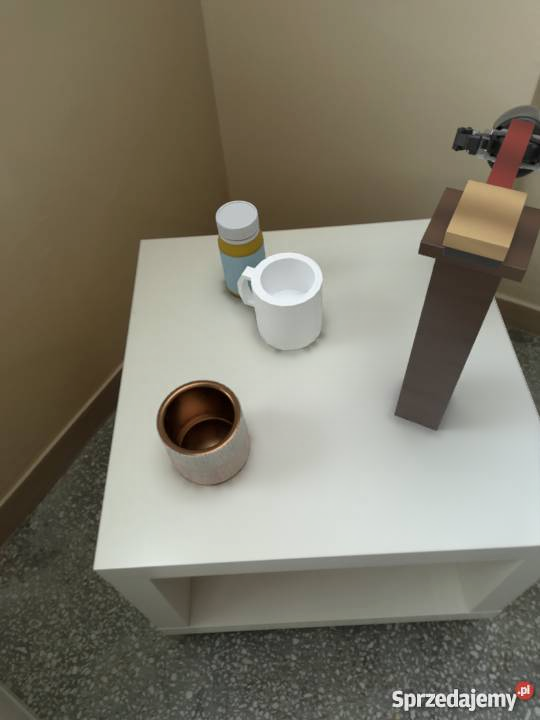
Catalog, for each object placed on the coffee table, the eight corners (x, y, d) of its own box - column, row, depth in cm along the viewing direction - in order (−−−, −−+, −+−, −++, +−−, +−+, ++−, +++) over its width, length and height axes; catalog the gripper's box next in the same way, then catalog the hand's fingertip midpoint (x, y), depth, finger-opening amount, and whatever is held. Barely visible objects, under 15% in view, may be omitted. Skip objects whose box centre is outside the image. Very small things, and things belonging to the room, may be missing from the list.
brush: (493, 131, 54) (501, 106, 52) (544, 142, 53) (554, 115, 51) (439, 255, 45) (446, 231, 43) (499, 272, 44) (509, 247, 42)
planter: (242, 406, 76) (234, 370, 68) (257, 476, 70) (250, 445, 62) (168, 423, 76) (151, 388, 68) (177, 495, 70) (159, 466, 62)
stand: (400, 372, 78) (446, 186, 50) (461, 394, 75) (545, 210, 48) (381, 416, 74) (420, 241, 46) (445, 441, 71) (526, 270, 44)
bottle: (230, 267, 92) (217, 197, 79) (270, 269, 91) (263, 199, 78) (223, 298, 88) (208, 230, 75) (264, 301, 87) (256, 232, 75)
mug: (228, 330, 84) (217, 285, 75) (257, 286, 89) (250, 238, 80) (305, 359, 80) (304, 315, 71) (332, 310, 85) (333, 264, 76)
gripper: (474, 106, 72) (459, 103, 59) (586, 127, 68) (598, 129, 54) (456, 163, 76) (438, 173, 62) (561, 186, 71) (567, 203, 58)
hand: (513, 153), depth 58 cm, fingers open, 8 cm apart
